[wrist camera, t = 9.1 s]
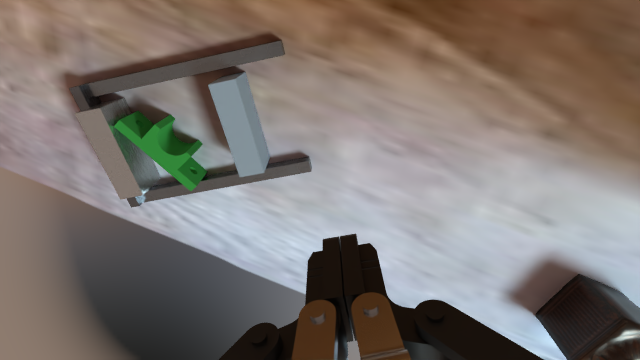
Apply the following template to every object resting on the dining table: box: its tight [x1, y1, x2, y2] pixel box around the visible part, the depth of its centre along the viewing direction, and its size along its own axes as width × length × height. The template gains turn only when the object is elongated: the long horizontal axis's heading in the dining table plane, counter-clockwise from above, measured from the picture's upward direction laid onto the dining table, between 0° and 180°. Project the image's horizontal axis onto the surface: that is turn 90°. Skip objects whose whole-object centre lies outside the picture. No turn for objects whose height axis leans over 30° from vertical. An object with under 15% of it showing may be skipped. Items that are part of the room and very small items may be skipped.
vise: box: [69, 40, 312, 207], centre depth 40 cm, size 16×25×5 cm, turn 102°
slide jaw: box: [208, 72, 270, 177], centre depth 40 cm, size 11×3×5 cm, turn 12°
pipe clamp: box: [114, 111, 207, 191], centre depth 41 cm, size 11×4×5 cm, turn 42°
